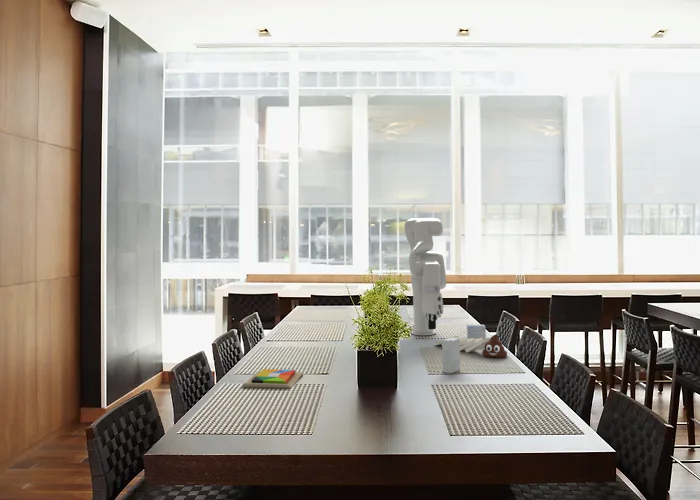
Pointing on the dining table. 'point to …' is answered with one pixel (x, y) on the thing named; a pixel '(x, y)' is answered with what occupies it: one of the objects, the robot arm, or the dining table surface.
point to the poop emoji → (494, 348)
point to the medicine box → (476, 331)
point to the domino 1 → (443, 339)
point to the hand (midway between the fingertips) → (432, 328)
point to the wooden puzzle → (273, 379)
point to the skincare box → (451, 355)
